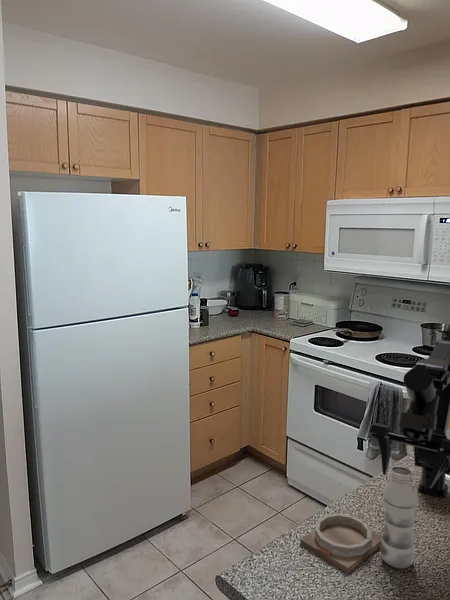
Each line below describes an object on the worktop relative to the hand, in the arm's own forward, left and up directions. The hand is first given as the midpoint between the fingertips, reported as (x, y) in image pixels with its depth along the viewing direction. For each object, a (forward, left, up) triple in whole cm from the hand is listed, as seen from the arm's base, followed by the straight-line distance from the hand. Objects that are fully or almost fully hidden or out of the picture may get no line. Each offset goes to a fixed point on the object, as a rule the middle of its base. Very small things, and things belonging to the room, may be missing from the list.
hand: (406, 480), depth 99 cm
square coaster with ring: (+4, -12, -16) cm, 20 cm away
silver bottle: (+5, 0, -16) cm, 17 cm away
